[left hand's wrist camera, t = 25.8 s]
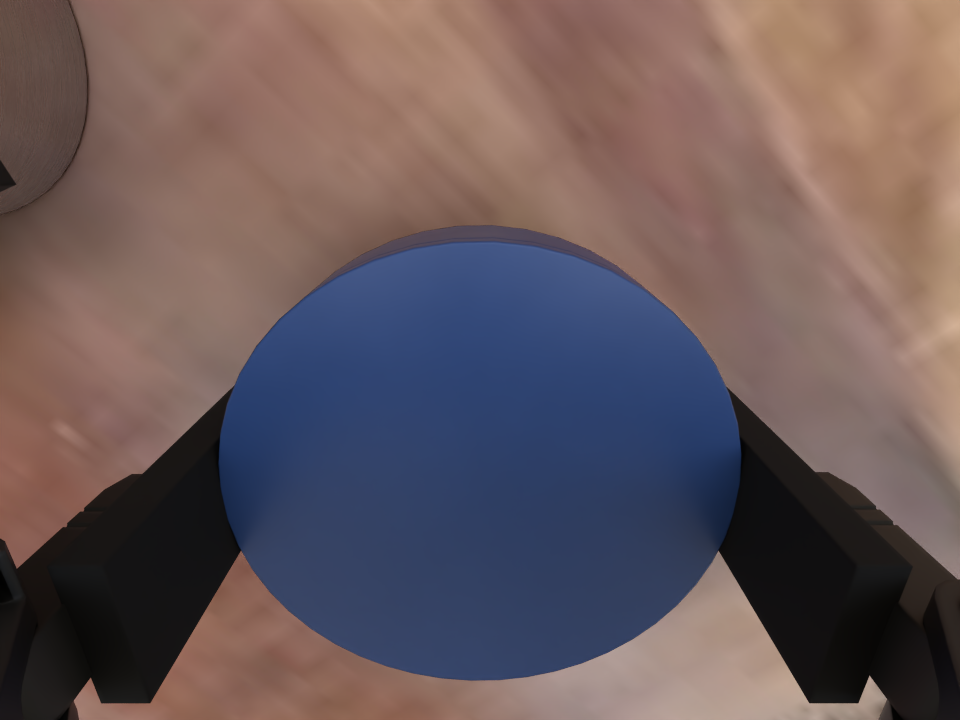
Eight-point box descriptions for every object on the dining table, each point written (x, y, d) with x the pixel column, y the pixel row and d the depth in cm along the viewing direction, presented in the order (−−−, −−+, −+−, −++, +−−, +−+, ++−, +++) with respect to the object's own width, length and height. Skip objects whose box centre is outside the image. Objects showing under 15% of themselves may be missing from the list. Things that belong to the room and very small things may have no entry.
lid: (645, 145, 10) (682, 144, 8) (736, 553, 13) (777, 616, 11) (169, 323, 11) (108, 358, 9) (370, 650, 15) (355, 722, 13)
